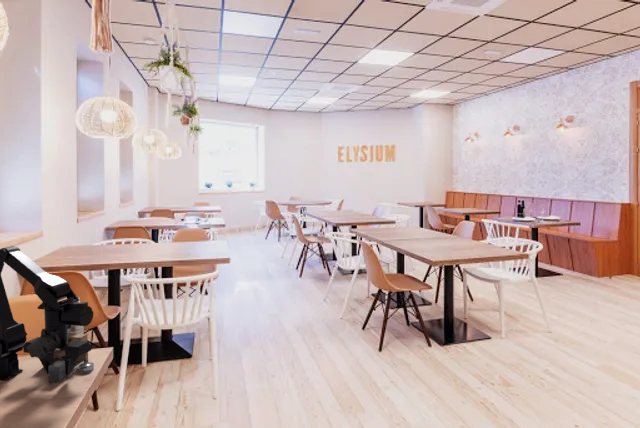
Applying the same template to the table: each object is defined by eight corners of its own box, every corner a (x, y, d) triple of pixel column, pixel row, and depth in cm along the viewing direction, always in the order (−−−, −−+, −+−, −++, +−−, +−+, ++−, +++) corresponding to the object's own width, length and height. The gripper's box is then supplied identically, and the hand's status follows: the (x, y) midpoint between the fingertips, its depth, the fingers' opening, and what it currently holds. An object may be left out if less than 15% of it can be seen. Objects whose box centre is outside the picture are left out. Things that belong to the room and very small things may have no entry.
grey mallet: (49, 382, 128) (48, 366, 127) (76, 364, 140) (75, 349, 140) (59, 383, 127) (58, 366, 127) (85, 365, 140) (85, 350, 139)
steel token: (76, 373, 134) (76, 367, 134) (85, 367, 138) (84, 361, 138) (88, 374, 134) (88, 367, 134) (96, 368, 138) (96, 362, 137)
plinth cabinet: (43, 367, 138) (41, 338, 137) (58, 359, 144) (56, 331, 143) (74, 370, 136) (73, 341, 135) (88, 362, 141) (87, 334, 141)
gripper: (5, 330, 122) (7, 384, 123) (62, 335, 118) (64, 390, 119) (38, 318, 133) (40, 367, 134) (91, 322, 129) (93, 373, 130)
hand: (58, 374), depth 129 cm, fingers open, 6 cm apart
